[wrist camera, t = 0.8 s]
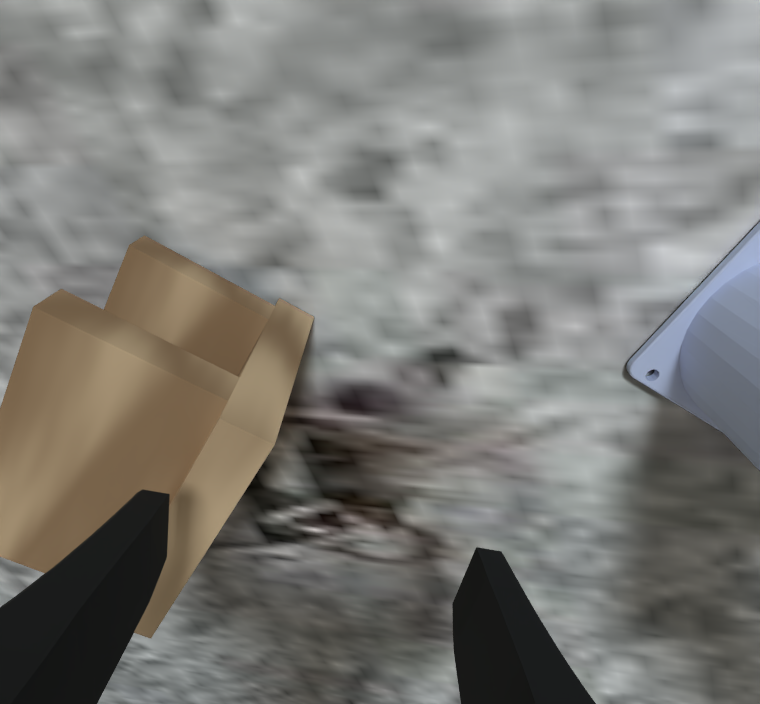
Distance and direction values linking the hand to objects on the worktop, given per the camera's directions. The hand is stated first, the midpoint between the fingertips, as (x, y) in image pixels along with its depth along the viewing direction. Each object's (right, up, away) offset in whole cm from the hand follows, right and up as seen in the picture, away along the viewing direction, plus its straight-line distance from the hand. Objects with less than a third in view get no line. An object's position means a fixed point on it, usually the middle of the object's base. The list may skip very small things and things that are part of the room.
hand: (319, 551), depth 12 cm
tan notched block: (-9, +4, +5) cm, 11 cm away
